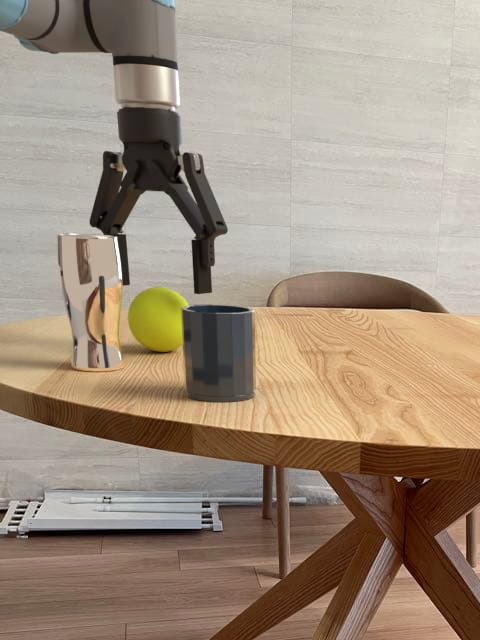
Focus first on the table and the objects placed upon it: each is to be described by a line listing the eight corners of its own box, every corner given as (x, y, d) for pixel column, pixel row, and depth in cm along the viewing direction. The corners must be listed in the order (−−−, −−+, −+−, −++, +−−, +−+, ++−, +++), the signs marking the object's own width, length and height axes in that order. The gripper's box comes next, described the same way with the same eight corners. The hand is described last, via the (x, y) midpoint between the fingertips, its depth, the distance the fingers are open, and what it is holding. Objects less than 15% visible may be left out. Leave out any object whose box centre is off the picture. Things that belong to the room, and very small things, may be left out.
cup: (171, 395, 88) (166, 308, 84) (213, 384, 94) (210, 302, 90) (228, 405, 85) (226, 315, 81) (268, 393, 91) (267, 309, 88)
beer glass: (103, 374, 96) (91, 237, 90) (54, 368, 98) (40, 233, 92) (140, 365, 102) (131, 236, 96) (94, 359, 104) (83, 233, 98)
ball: (116, 351, 110) (111, 286, 107) (158, 344, 117) (155, 282, 114) (167, 359, 107) (163, 292, 104) (207, 351, 114) (204, 288, 111)
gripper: (251, 112, 99) (256, 294, 107) (93, 113, 109) (108, 281, 117) (213, 104, 93) (221, 298, 101) (48, 106, 102) (68, 284, 110)
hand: (161, 289), depth 109 cm, fingers open, 13 cm apart
